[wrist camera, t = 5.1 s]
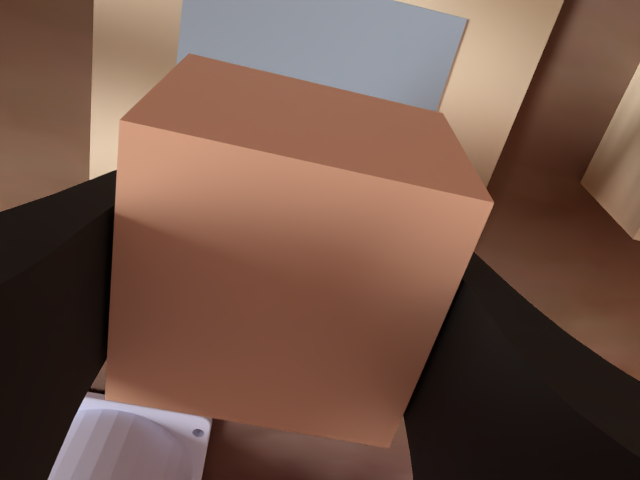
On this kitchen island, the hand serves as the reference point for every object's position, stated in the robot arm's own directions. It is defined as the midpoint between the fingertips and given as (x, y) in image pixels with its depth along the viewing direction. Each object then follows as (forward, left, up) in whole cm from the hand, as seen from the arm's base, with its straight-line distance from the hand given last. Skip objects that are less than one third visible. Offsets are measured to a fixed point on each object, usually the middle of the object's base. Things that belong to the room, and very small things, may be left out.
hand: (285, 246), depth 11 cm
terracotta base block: (0, 0, -1) cm, 1 cm away
